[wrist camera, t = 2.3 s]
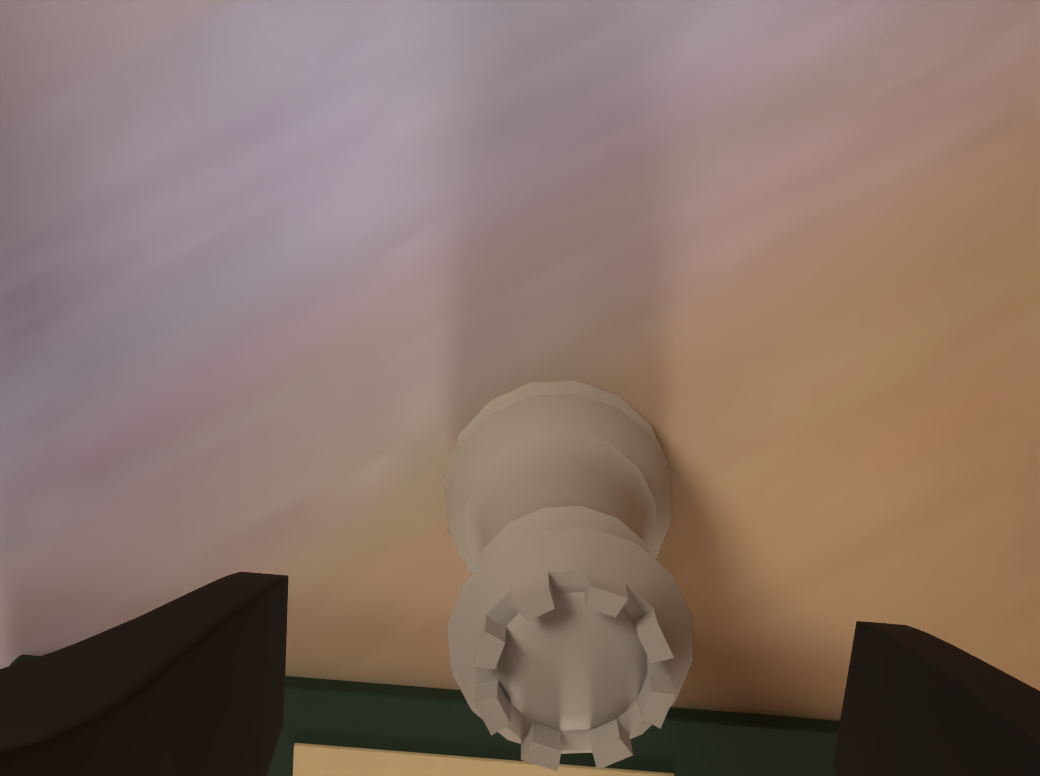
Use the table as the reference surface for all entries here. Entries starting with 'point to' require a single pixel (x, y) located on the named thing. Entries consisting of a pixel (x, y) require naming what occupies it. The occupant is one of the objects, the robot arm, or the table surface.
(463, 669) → the rook chess piece
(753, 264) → the table surface
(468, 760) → the felt mat
